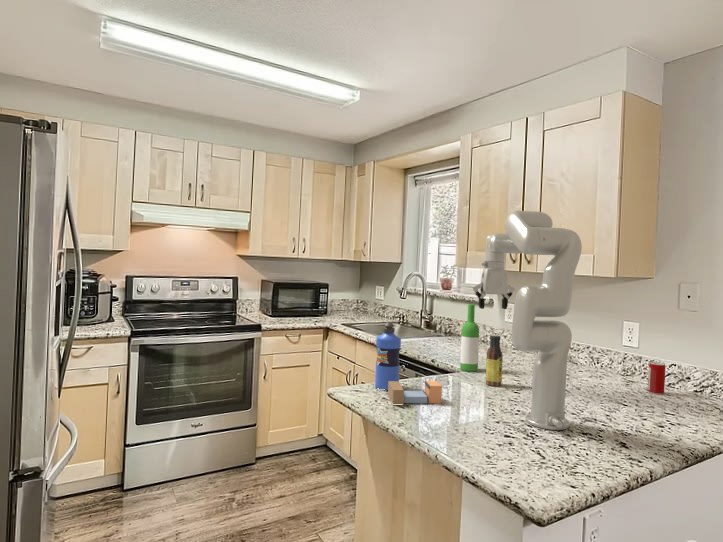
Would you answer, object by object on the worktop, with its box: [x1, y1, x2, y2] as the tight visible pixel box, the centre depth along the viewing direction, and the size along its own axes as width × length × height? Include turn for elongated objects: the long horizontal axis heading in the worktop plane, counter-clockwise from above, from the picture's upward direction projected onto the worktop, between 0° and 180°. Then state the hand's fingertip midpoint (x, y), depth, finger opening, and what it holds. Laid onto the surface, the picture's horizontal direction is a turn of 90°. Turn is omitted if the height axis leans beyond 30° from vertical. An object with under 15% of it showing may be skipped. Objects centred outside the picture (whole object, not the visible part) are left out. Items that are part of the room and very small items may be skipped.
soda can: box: [647, 361, 666, 396], centre depth 179 cm, size 6×6×12 cm
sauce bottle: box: [485, 334, 504, 387], centre depth 183 cm, size 6×6×20 cm
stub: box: [424, 380, 443, 404], centre depth 159 cm, size 6×4×6 cm
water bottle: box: [374, 321, 402, 390], centre depth 174 cm, size 9×9×25 cm
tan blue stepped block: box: [387, 381, 429, 405], centre depth 158 cm, size 11×12×5 cm
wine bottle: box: [459, 303, 480, 373], centre depth 207 cm, size 8×8×30 cm
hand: (492, 308), depth 183 cm, fingers open, 9 cm apart
